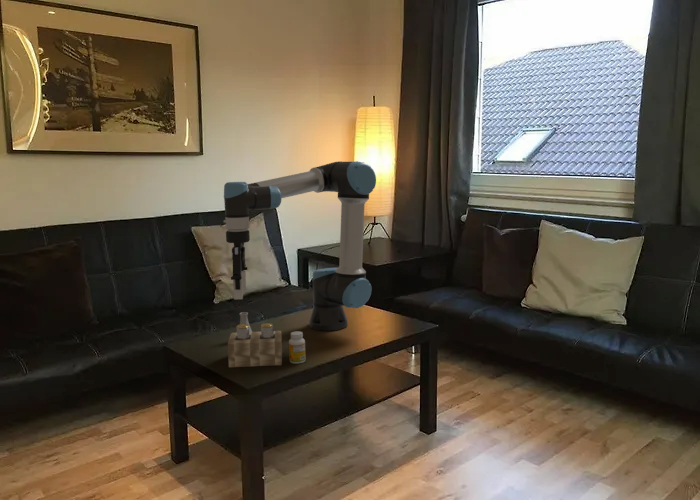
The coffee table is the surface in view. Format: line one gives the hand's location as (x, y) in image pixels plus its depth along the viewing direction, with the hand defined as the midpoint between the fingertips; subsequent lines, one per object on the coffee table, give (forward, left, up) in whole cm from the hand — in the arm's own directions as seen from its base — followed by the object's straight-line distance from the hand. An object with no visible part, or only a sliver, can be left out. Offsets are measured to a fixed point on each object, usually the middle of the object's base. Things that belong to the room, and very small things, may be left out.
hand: (240, 294), depth 205 cm
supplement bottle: (-18, +3, -23) cm, 29 cm away
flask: (+1, -24, -23) cm, 33 cm away
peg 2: (-8, 0, -19) cm, 20 cm away
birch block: (-4, 0, -23) cm, 23 cm away
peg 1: (0, 0, -19) cm, 19 cm away
